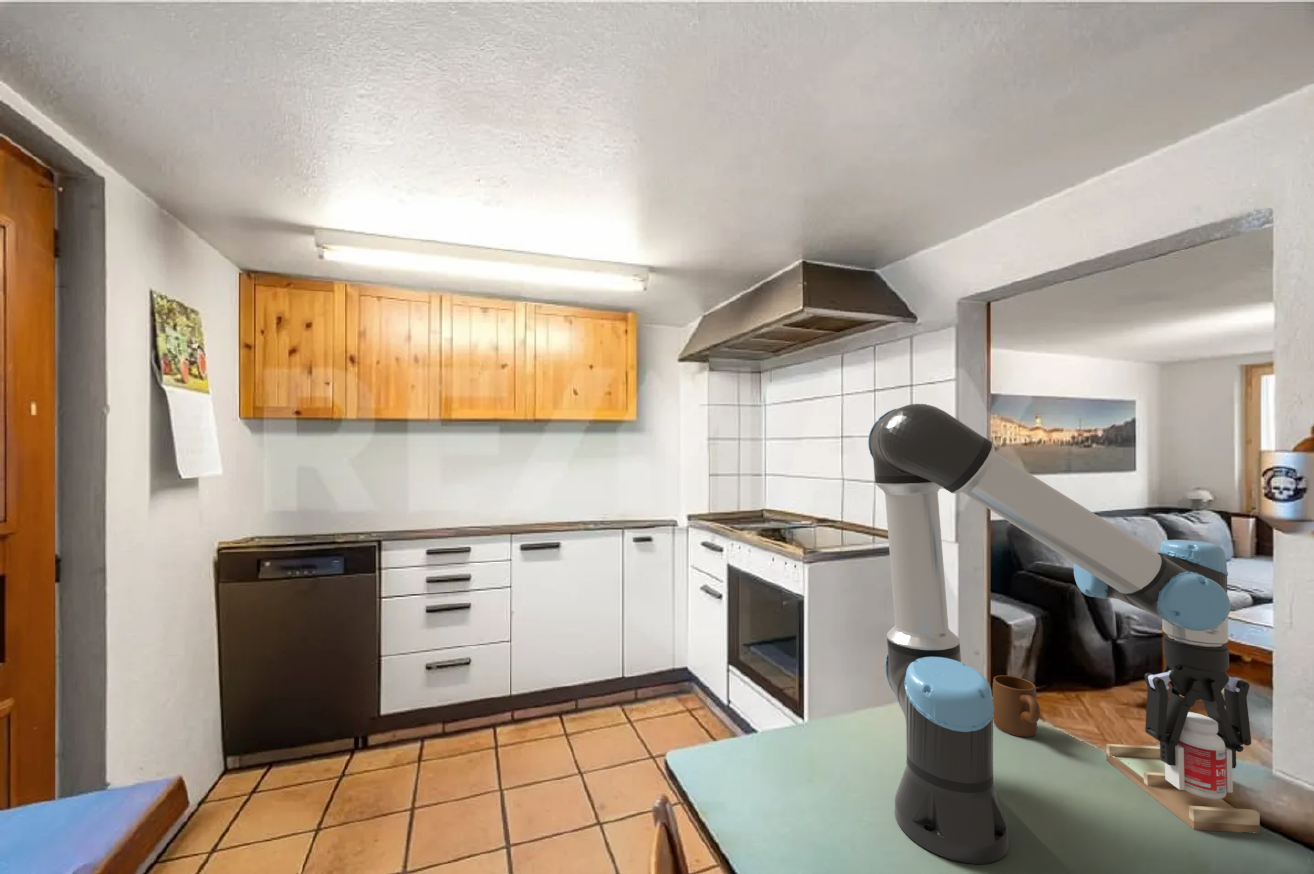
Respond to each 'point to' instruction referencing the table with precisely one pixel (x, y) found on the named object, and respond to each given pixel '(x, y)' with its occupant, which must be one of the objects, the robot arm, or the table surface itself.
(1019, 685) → the mug
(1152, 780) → the notch board
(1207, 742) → the pill bottle
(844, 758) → the table surface
